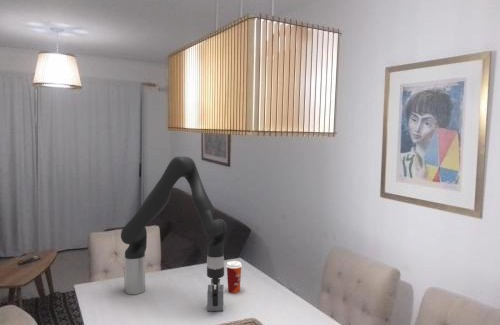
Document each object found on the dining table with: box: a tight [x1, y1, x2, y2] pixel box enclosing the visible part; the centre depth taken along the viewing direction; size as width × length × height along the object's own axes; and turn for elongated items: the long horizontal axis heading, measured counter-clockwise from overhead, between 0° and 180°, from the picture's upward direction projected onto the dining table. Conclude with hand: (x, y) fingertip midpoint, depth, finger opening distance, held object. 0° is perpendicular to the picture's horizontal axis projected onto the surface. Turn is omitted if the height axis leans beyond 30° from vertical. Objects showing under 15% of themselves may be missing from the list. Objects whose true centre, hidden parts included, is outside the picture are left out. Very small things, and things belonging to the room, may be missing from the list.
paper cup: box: [225, 260, 243, 294], centre depth 191 cm, size 8×8×14 cm
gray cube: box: [206, 284, 224, 312], centre depth 172 cm, size 7×7×9 cm
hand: (215, 302), depth 173 cm, fingers closed on gray cube, 7 cm apart
